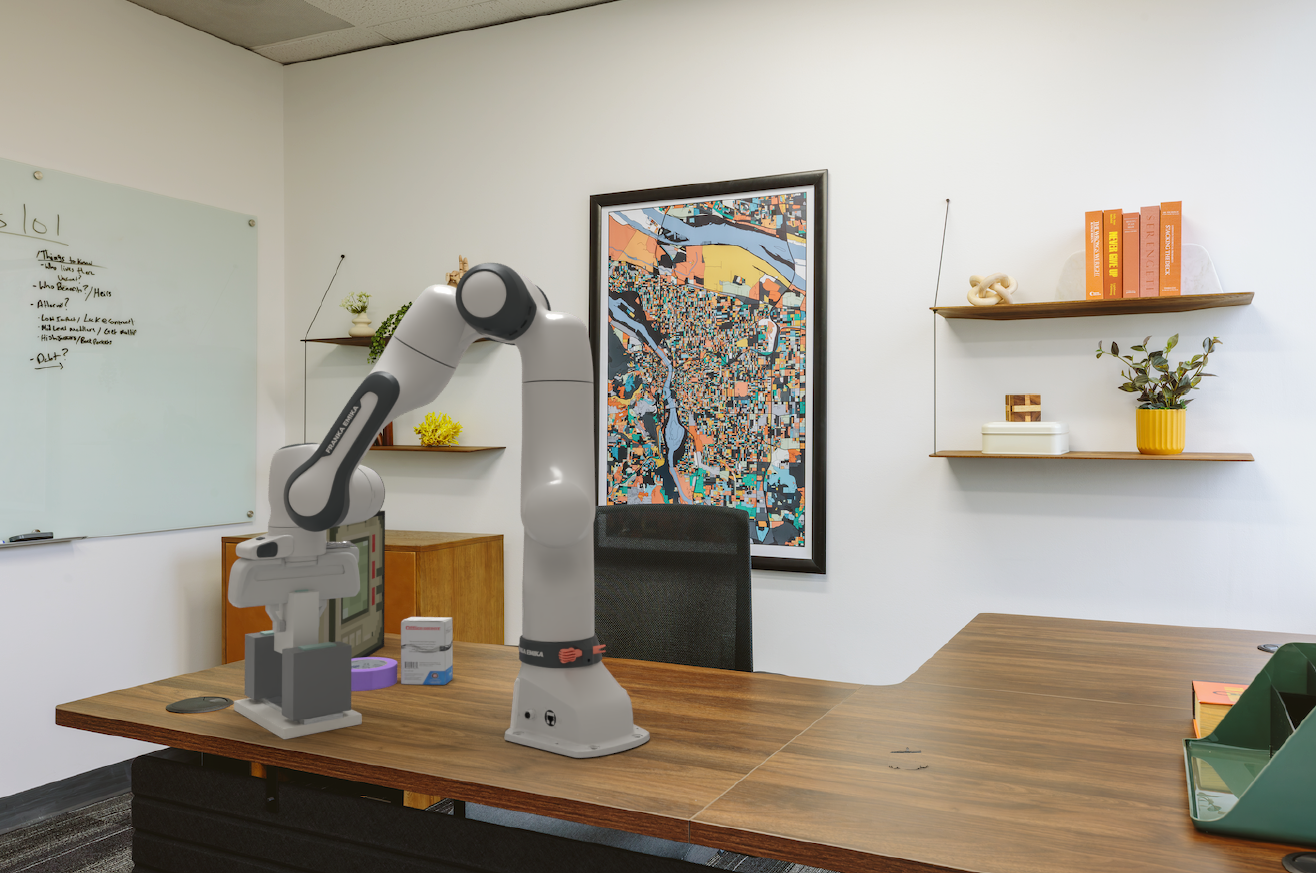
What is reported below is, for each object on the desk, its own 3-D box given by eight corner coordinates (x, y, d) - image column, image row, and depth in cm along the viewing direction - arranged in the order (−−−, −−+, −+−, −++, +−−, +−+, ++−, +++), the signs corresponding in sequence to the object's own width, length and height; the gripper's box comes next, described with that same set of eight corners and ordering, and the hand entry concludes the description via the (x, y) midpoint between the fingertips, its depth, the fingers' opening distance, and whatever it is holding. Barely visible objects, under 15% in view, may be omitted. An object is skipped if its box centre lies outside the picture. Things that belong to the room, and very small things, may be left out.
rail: (343, 717, 143) (343, 712, 143) (304, 725, 139) (304, 719, 139) (288, 691, 159) (289, 686, 159) (252, 697, 155) (252, 692, 155)
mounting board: (361, 723, 145) (361, 714, 145) (284, 739, 137) (284, 729, 137) (306, 697, 161) (306, 688, 161) (233, 709, 153) (234, 700, 153)
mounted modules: (351, 710, 145) (351, 643, 145) (293, 721, 139) (293, 651, 139) (298, 685, 160) (299, 625, 160) (244, 694, 154) (245, 632, 154)
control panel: (333, 678, 176) (334, 519, 176) (294, 678, 176) (295, 519, 176) (384, 646, 206) (385, 510, 206) (350, 646, 206) (351, 510, 206)
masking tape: (410, 683, 173) (410, 662, 173) (354, 695, 164) (354, 673, 164) (373, 674, 180) (373, 654, 180) (318, 685, 171) (318, 664, 171)
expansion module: (298, 647, 154) (299, 585, 154) (318, 654, 148) (319, 590, 148) (274, 650, 151) (274, 587, 151) (293, 658, 145) (293, 592, 146)
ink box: (453, 679, 175) (454, 616, 175) (445, 685, 170) (445, 620, 170) (409, 678, 176) (410, 615, 176) (399, 684, 171) (400, 620, 171)
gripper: (350, 538, 159) (349, 620, 159) (225, 546, 146) (223, 634, 145) (367, 541, 155) (366, 625, 154) (238, 549, 141) (237, 640, 141)
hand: (296, 629), depth 150 cm, fingers closed on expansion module, 4 cm apart
